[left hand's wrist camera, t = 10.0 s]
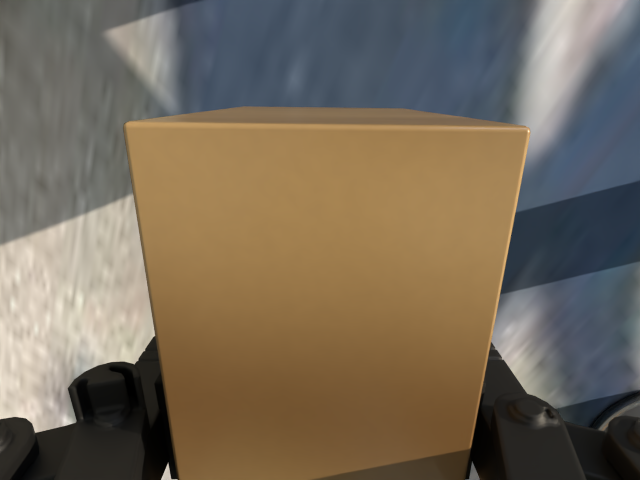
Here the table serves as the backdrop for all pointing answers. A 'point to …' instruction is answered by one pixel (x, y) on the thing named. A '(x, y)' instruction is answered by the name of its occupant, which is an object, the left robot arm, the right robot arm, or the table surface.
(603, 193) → the table surface
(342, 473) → the plank
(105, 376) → the left robot arm
